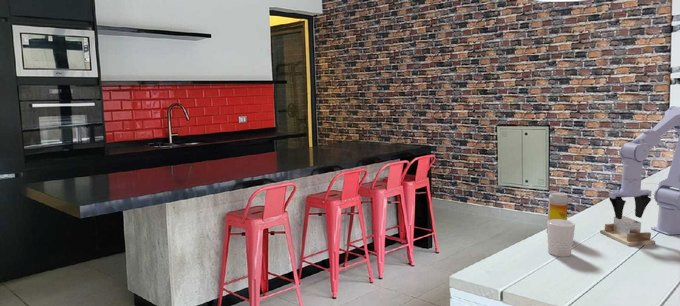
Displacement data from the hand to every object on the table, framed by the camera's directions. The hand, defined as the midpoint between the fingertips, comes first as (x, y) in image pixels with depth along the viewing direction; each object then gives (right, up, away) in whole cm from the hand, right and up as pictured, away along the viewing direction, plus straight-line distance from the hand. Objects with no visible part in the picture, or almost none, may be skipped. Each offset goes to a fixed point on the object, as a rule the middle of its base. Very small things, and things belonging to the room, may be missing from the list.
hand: (628, 217), depth 179 cm
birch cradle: (0, -7, +1) cm, 7 cm away
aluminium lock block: (0, -6, +1) cm, 6 cm away
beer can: (-23, -7, +4) cm, 24 cm away
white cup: (-29, -10, -13) cm, 33 cm away
